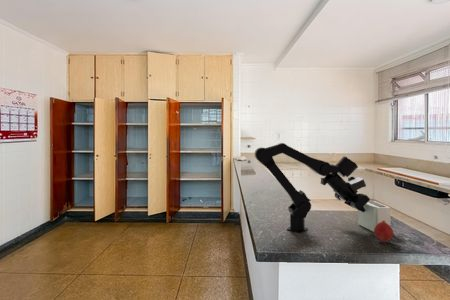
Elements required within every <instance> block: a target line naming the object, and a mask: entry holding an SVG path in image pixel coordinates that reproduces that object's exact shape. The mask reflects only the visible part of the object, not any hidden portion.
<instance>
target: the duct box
mask: <svg viewBox="0 0 450 300" xmlns="http://www.w3.org/2000/svg"><path fill="white" fill-rule="evenodd" d="M367 204H370V205H373V206H375V207H376V225H377V224H378V223H380V222H382V221H383V220H385V222H386V223H387V224H388V225H389V226H390V227H391V207H390V206H388V205H385V204H383V203H381V202H378V201H375V200H369V201H368V202H367Z"/></svg>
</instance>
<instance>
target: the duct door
mask: <svg viewBox="0 0 450 300" xmlns="http://www.w3.org/2000/svg"><path fill="white" fill-rule="evenodd" d="M363 207H364V209H365V212H362V211H360V210H357V214H358V215H357V219H358V220H357V224H358V225H359V226H361V227H363V228H365V229H367V230H369V231H371V232H372V233H374V229H375V227H376V207H375V206H373V205H370V204H367V203H366V204H365V205H364V206H363Z"/></svg>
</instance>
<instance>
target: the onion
mask: <svg viewBox="0 0 450 300" xmlns="http://www.w3.org/2000/svg"><path fill="white" fill-rule="evenodd" d="M373 233H374V235H375V237H377V239H379V240H380V241H381V242H382V243H386V242H387V241H389V240H390V239H392V238H393V237H394V230H393V228H392V227H391V225H390V226H389V225H388V224H387V223H386V222H385V220H383V221H382V222H380V223H378V224H377V225H376V227H375V229H374V232H373Z"/></svg>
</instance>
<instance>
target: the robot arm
mask: <svg viewBox="0 0 450 300" xmlns="http://www.w3.org/2000/svg"><path fill="white" fill-rule="evenodd" d="M280 154H283V155H285V156H287V157H289V158H290V159H294V160H295V161H297V162H298V163H300V164H303V165H305V166H306V167H308V168H309V170H311V171H312V172H314V173H315V174H317V175H320V176H322V177H320V184H321V185H323V186H326V185H329V187H330V188H331V189H332V191H333V192H334V197H335V199H336V200H338V201H344V204H345V205H347V206H349V207H351V208H353V209H356V210H357V211H358V210H360V211H362V212H365V209H364V207H363V206H364V205H365V204H366V203H367V202H368V201H371V198H370V197H369V196H368V195H367V194H364V193H358V192H359V191H358V190H360V189H362V188H366V186H367V184H366V182H365V180H364V178H363V177H360V176H359V177H358V176H357V177H356V176H355V177H354V176H352V174H353V173H354V171H356V170H357V169H358V168H359V166H358V165H357V163H356V162H354V161H353V160H351V159H350V158H349V157H348V156H344V155H343V156H342V158H341V159H340V160H339V161H338V162H337V163H336V164H332V163H330V162H327V161H325V160H321V159H318V158H314V157H311V156H309V155H307V154H305V153H303V152H301V151H299V150H297V149H296V148H293V147H291V146H290V145H287V144H286V143H283V142H280V143H277V144H275V145H272V146H268V147H262V146H261V147H258V148H256V149H255V151H254V157H255V159H256V160H257V162H260V164H261V165H263V167H265V168H266V169H267V170H268V171H269V172H270V173H271V174H272V175H271V176H273V177H274V178H275V180H276V181H277V182H278V184H280V186H281V187H282V189H284V191H285V193H287V195H288V198H289V199H290V201H291V202H292V203H291V204H290V205H289V206H288V208H287V210H288V212H289V213H290V215H289V219H290V220H289V222H290V223H289V225H290V226H289V227H288V228H286V230H287V231H291V232H295V233H299V234H302V233H304V232H306V231H307V230H309V228H308V227H305V224H306V222H305V221H306V220H305V219H306V218H307V216H308V213H309V212H310V211H311V209H312V204H311V199H310V198H308V196H307V194H306V193H305V192H304V191H303V190H301V189H300V190H297V189H296V188H295V186H294V185H293V184H292V183H291V181H290V180H289V179H288V177H287V176H286V175H285V174H284V173H283V171H282V170H281V169H280V168H279V166H278V165H277V163H276V162H275V159H274V157H276V156H277V155H280ZM345 177H346V178H347V182H346V181H345V179H344V178H345Z"/></svg>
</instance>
